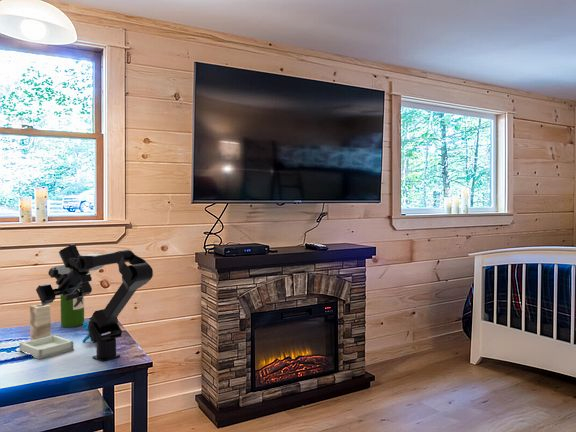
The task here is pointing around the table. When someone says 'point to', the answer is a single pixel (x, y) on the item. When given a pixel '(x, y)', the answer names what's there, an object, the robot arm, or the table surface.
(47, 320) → the maple block
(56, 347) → the sage tray
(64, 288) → the robot arm
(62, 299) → the wine bottle
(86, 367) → the table surface
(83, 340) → the gear
